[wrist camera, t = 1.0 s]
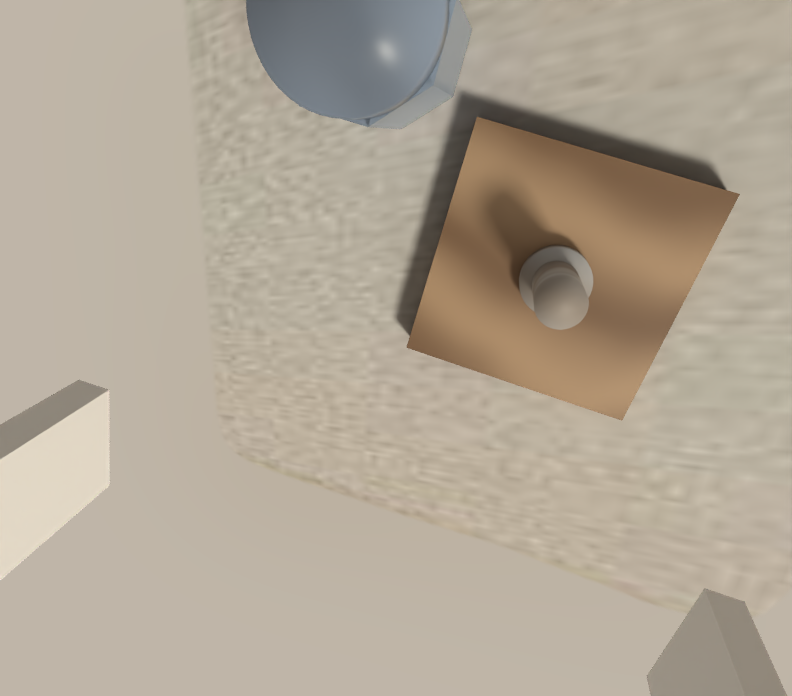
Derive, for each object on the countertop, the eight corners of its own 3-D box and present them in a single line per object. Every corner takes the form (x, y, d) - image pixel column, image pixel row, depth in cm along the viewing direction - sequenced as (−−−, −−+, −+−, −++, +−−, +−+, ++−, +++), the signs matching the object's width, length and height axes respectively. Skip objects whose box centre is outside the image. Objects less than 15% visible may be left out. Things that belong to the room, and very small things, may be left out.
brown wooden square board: (479, 117, 26) (468, 112, 21) (727, 191, 25) (784, 205, 20) (411, 338, 31) (388, 380, 25) (617, 407, 30) (639, 467, 24)
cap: (339, -62, 25) (263, -146, 17) (486, -22, 24) (472, -92, 17) (309, 101, 27) (233, 88, 20) (440, 140, 27) (410, 142, 19)
